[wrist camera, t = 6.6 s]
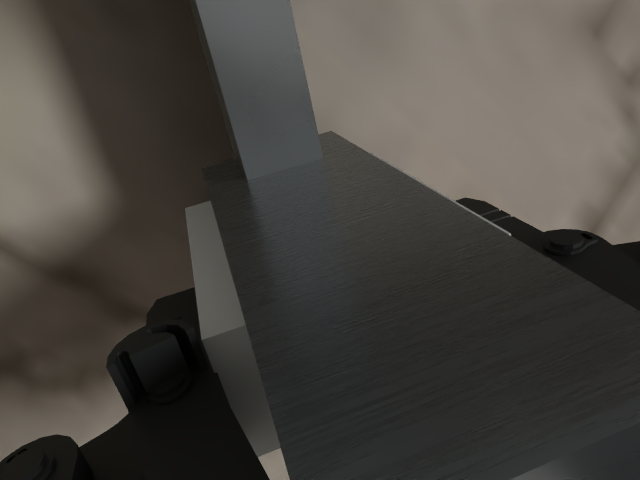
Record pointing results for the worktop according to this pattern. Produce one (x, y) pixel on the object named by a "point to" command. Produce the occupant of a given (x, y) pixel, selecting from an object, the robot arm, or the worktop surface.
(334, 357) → the hook tool
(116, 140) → the worktop surface
